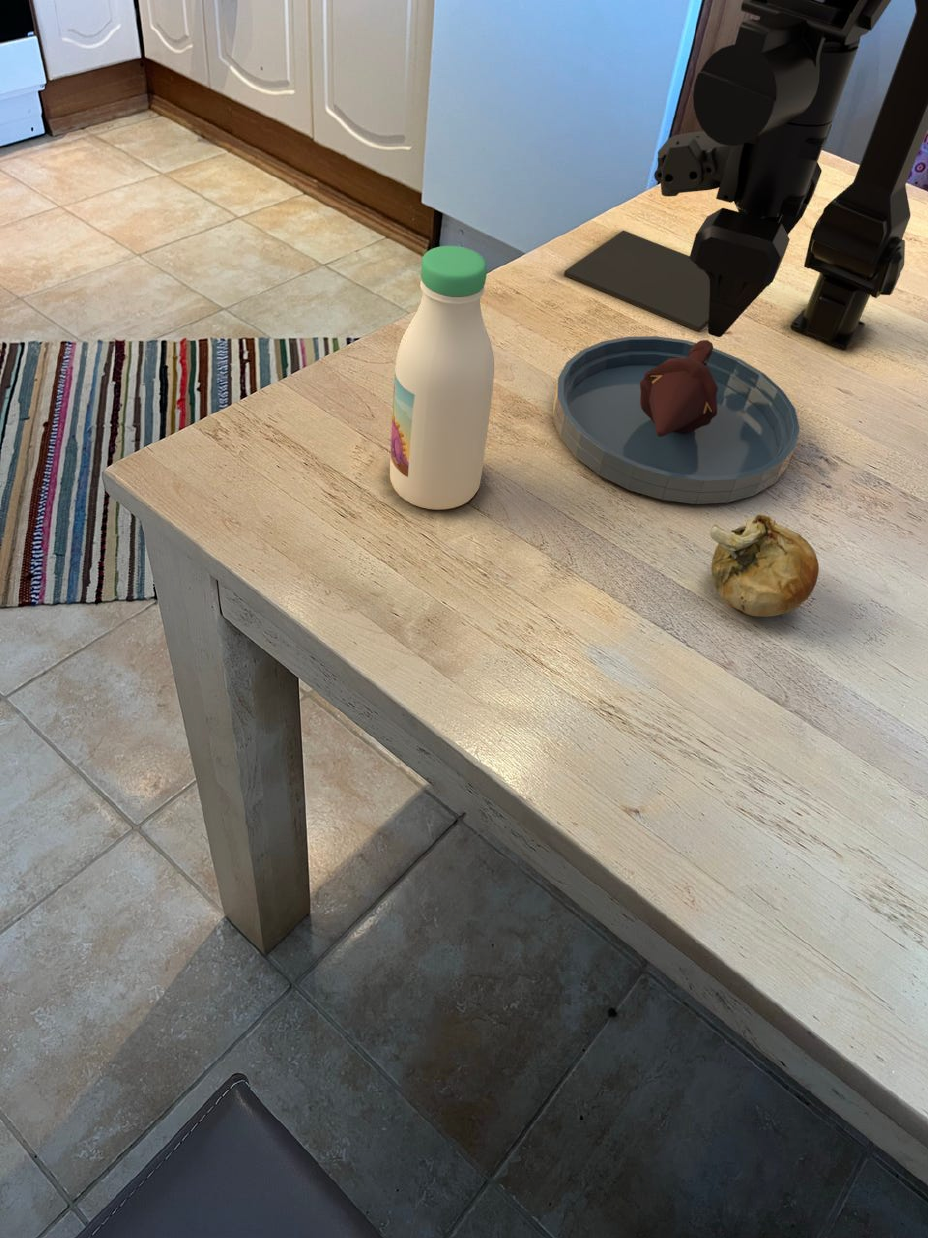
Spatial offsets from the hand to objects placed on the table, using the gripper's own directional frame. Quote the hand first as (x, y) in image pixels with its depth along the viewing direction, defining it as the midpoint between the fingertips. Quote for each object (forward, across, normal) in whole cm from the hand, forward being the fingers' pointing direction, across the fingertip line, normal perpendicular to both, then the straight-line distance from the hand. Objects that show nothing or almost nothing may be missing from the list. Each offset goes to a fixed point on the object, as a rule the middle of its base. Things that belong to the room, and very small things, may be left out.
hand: (727, 309), depth 79 cm
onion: (+13, +18, +10) cm, 25 cm away
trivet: (+13, -27, -11) cm, 32 cm away
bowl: (+13, 0, -2) cm, 13 cm away
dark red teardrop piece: (+13, 0, -2) cm, 13 cm away
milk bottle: (+13, +18, -18) cm, 28 cm away
